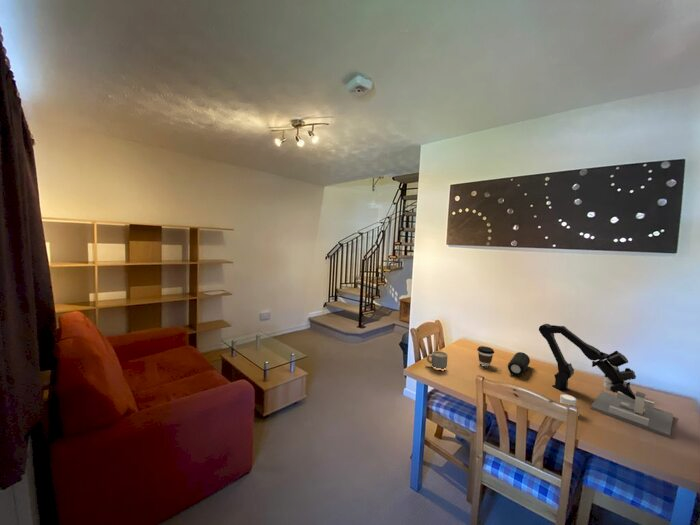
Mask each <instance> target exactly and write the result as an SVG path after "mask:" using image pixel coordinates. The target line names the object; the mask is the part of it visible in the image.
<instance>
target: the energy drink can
mask: <svg viewBox="0 0 700 525" xmlns="http://www.w3.org/2000/svg"><path fill="white" fill-rule="evenodd" d="M613 367H614V368H615V369H617V370H619V371H620V368H619V367H616V366H613ZM611 385H612V384H611V381H610V380H609V379H608V377H605V376H604V381H603V387H604V388H605V389H606V390H608V391H612V390H611V389H610V387H611Z"/></svg>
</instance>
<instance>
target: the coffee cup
mask: <svg viewBox="0 0 700 525" xmlns="http://www.w3.org/2000/svg"><path fill="white" fill-rule="evenodd" d="M477 351H478V352H477V356H478V361H479V365H480V364H481V365H484V366H489V367H490V366H491V364H492V360H493V357H494V354H495V351H494V349H493V348H491V347H489V346H483V345H482V346H478V347H477ZM481 365H480V366H481Z"/></svg>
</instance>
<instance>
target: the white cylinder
mask: <svg viewBox="0 0 700 525" xmlns="http://www.w3.org/2000/svg"><path fill="white" fill-rule="evenodd" d="M559 396H560V403H563V404H568V405H573V406H575V407H576V405H577V398H576V397H575V396H573V395H570V394H567V393H562V394H560V395H559Z"/></svg>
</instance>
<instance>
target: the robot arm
mask: <svg viewBox="0 0 700 525" xmlns="http://www.w3.org/2000/svg"><path fill="white" fill-rule="evenodd" d="M538 332H539V333H540V334H541V336H542V337H543V338H544V339H545V340H546V342H547V344H548V347H549V349H550V351H551V352H552V354H553V356H554V358H555V361H556V364H557V370H558V371H557V372H556V373H555V374H554V379H555V380H554V381H555V382H554V384H553V385H552V387H553V388H555V389H557V390H559V391H561V392H567V391H571V389H570V388H568V387H569V379H571V378H572V377H573V376H574V374H575V368H573V365H572V363H568V362H567V361H566V358H565V357H564V354H563V352H562V350H561V348H560V347H559V344H558V341H556V338H555V334H561V336H563V337H565V338H566V339H567V340H568V341H569V342H570V343H572V344H574V346H576V347H577V348H579V349H580V351H581V352H582V353H583V355H584V356H585V357H586V358H588V360H590V361H592V362H591V367H592V368H594V367H597V368H598V369H599V371H601V372H602V373H603V374H604V378H605V377H608V379H609V380H610V381H611V384H612V385H611V387H610V389H611V390H612V392H611V393H612V394H613V393H614V394H615V393H616V392H617V393H618V391H619V392H621V393H623V394H625V395H627V396H628V397H630V398H632V399H634V400H635V398H636V397H635V395H636V394H634V392H633V390H632V389H631V387H630V386H631V380H636V379H637V376H636V374H635V371H634V370H633V369H631V368H630V367H626V368H624V370H621V371H620V369H619V370H617V369H615V368H614V367H613V366H616V367H618V368H619V367H621V366H623V365H626V364H628V363H629V360H628V359H627V357H626V356H625V355H624V354H622V353H621V352H619V351H618V350H615V351H613V352H611V353H609V354H608V353H606V352H603V351H601V350H600V349H598V348H596V347H595V346H593V345H590V344H588V343H587V342H585V341H584V340H583V339H581V338H580V337H579V336H577V335H576V334H575V333H573V332H572V331H570V329H568V328H567V327H566V326H564V325H554V324H553V325H552V324H550V323H543V324H542V325H540V326H539V328H538ZM626 381H629V382H626ZM611 390H610V391H611Z"/></svg>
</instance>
